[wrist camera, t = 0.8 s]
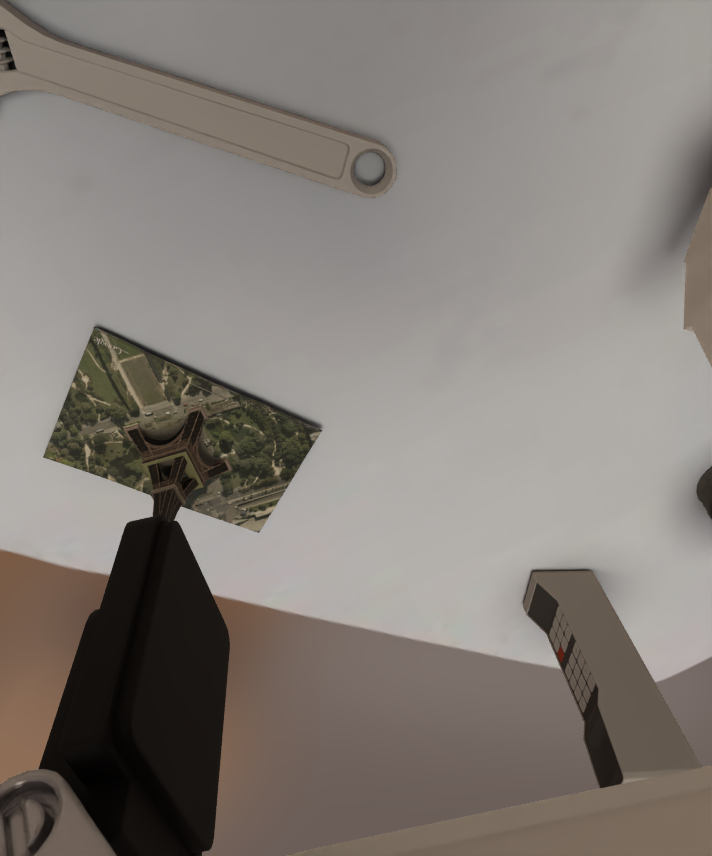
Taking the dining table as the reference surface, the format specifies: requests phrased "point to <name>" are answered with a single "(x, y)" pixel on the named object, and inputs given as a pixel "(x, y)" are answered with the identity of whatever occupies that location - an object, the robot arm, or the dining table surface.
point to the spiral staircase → (700, 280)
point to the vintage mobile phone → (607, 681)
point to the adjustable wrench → (184, 107)
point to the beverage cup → (706, 491)
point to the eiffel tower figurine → (176, 435)
